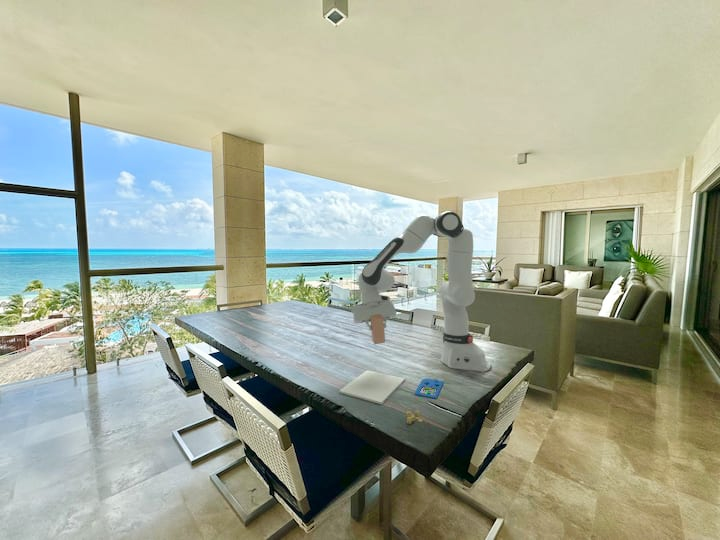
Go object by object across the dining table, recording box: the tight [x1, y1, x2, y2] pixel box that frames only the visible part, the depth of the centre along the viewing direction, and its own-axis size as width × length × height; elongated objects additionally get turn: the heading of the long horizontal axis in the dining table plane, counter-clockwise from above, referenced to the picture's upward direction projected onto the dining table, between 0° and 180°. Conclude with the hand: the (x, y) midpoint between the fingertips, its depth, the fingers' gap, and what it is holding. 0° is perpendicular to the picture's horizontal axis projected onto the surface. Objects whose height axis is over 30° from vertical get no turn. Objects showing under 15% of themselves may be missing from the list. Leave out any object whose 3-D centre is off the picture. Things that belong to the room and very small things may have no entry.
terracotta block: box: [370, 314, 386, 345], centre depth 134 cm, size 5×5×12 cm
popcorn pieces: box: [406, 410, 423, 425], centre depth 94 cm, size 5×5×2 cm
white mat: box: [338, 370, 406, 405], centre depth 117 cm, size 18×22×1 cm
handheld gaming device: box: [413, 378, 444, 400], centre depth 115 cm, size 8×1×15 cm
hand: (377, 328), depth 134 cm, fingers closed on terracotta block, 5 cm apart
